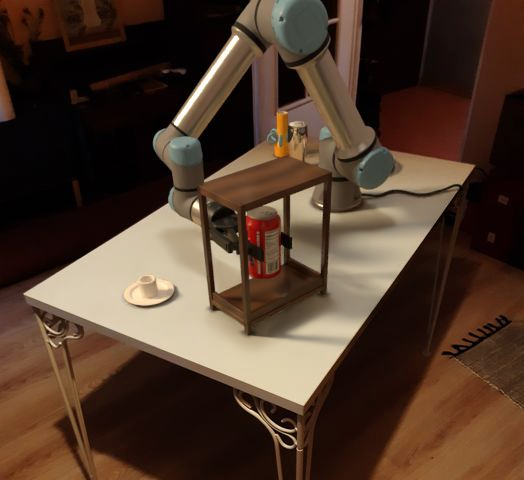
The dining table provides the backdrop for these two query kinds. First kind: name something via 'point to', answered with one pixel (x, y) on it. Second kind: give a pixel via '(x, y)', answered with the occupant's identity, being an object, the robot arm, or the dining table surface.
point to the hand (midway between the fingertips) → (277, 249)
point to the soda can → (264, 241)
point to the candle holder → (148, 291)
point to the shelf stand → (292, 272)
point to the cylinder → (280, 135)
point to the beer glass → (297, 139)
